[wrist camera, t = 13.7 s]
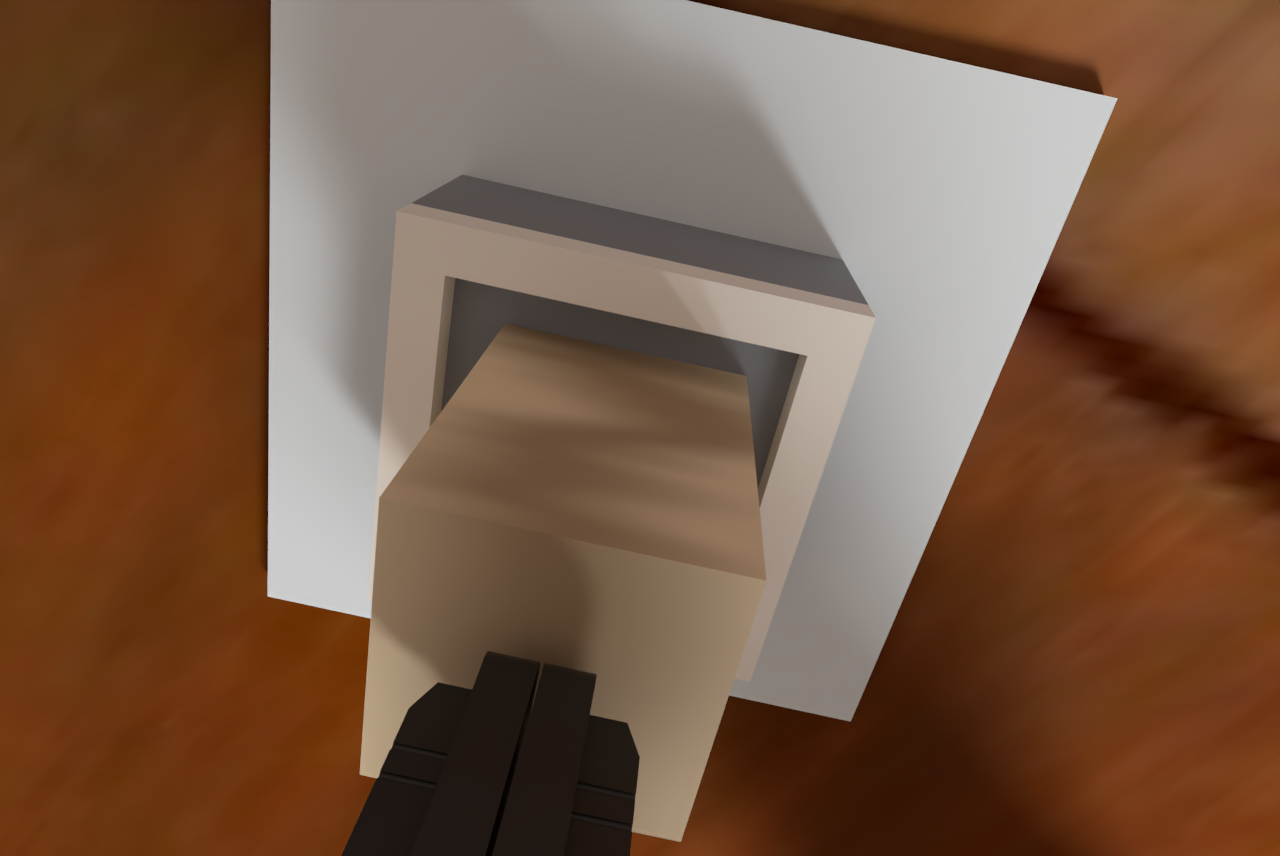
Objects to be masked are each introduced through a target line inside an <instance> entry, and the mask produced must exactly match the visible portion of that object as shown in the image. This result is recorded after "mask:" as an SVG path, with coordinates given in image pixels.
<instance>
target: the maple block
mask: <svg viewBox="0 0 1280 856" xmlns="http://www.w3.org/2000/svg"><path fill="white" fill-rule="evenodd" d="M766 581H767V580H766V569H765V559H764V549H763V539H762V528H761V518H760V508H759V497H758V487H757V477H756V467H755V456H754V446H753V436H752V425H751V415H750V405H749V394H748V384H747V376H745V375H740V374H735V373H731V372H726V371H722V370H717V369H713V368H708V367H703V366H699V365H694V364H690V363H685V362H680V361H676V360H671V359H667V358H662V357H657V356H653V355H648V354H644V353H639V352H634V351H630V350H625V349H621V348H616V347H611V346H607V345H602V344H598V343H593V342H588V341H584V340H579V339H575V338H570V337H565V336H561V335H556V334H552V333H547V332H543V331H538V330H533V329H529V328H524V327H520V326H515V325H510V324H506V323H505V324H504V326H503V327H502V328H501V330H500V331H499V333H498V334H497V335H496V337H495V338H494V340H493V341H492V342H491V344H490V345H489V346H488V348H487V349H486V351H485V352H484V353H483V355H482V356H481V358H480V359H479V360H478V362H477V363H476V364H475V366H474V367H473V369H472V370H471V371H470V373H469V374H468V376H467V377H466V378H465V380H464V381H463V382H462V384H461V385H460V387H459V388H458V389H457V391H456V392H455V394H454V395H453V396H452V398H451V399H450V400H449V402H448V403H447V405H446V406H445V407H444V409H443V410H442V412H441V413H440V414H439V416H438V417H437V418H436V420H435V421H434V423H433V424H432V425H431V427H430V428H429V430H428V431H427V432H426V434H425V435H424V436H423V438H422V439H421V441H420V442H419V443H418V445H417V446H416V448H415V449H414V450H413V452H412V453H411V454H410V456H409V457H408V459H407V460H406V461H405V463H404V464H403V466H402V467H401V468H400V470H399V471H398V472H397V474H396V475H395V477H394V478H393V479H392V481H391V482H390V484H389V485H388V486H387V488H386V489H385V490H384V492H383V493H382V495H381V496H380V497H379V509H378V523H377V537H376V551H375V565H374V579H373V594H372V608H371V622H370V636H369V650H368V664H367V678H366V693H365V707H364V721H363V735H362V749H361V763H360V775H364V776H369V777H373V778H378V777H379V774H380V770H381V768H382V766H383V764H384V761H385V759H386V757H387V755H388V753H389V751H390V749H392V746H393V742H394V740H395V737H396V735H397V733H398V731H399V729H400V726H401V724H402V722H403V720H404V718H405V715H406V713H407V711H408V709H409V707H411V706H412V705H413V704H414V703H415V702H416V701H417V700H418V699H420V698H421V697H422V696H423V695H424V694H425V693H426V692H427V691H429V690H430V689H431V688H432V687H433V686H434V685H435V684H436V683H438V682H439V683H444V684H449V685H453V686H458V687H463V688H467V689H473V686H474V684H475V681H476V678H477V676H478V673H479V670H480V668H481V665H482V662H483V660H484V657H485V655H486V653H487V651H491V652H496V653H500V654H505V655H510V656H514V657H519V658H523V659H528V660H533V661H537V662H540V669H539V674H538V680H537V685H536V690H535V695H534V700H535V696H536V692H537V689H538V685H539V681H540V678H541V674H542V670H543V667H544V664H545V663H548V664H552V665H557V666H562V667H566V668H571V669H575V670H580V671H585V672H589V673H594V674H597V677H596V683H595V689H594V694H593V699H592V705H591V710H590V715H594V716H598V717H603V718H607V719H612V720H617V721H621V722H626V723H628V726H629V729H630V731H631V734H632V737H633V740H634V743H635V745H636V748H637V751H638V754H639V757H640V760H639V770H638V779H637V789H636V796H635V808H634V818H633V826H632V831H631V832H636V833H640V834H645V835H650V836H655V837H660V838H664V839H669V840H674V841H679V842H681V840H682V837H683V834H684V830H685V827H686V824H687V821H688V818H689V815H690V812H691V809H692V806H693V803H694V800H695V797H696V794H697V791H698V788H699V785H700V782H701V779H702V776H703V773H704V770H705V767H706V764H707V760H708V757H709V754H710V751H711V748H712V745H713V742H714V739H715V736H716V733H717V730H718V727H719V724H720V721H721V718H722V715H723V712H724V709H725V706H726V703H727V700H728V697H729V694H730V691H731V687H732V684H733V681H734V678H735V675H736V672H737V669H738V666H739V663H740V660H741V657H742V654H743V651H744V648H745V645H746V642H747V639H748V636H749V633H750V630H751V627H752V624H753V621H754V617H755V614H756V611H757V608H758V605H759V602H760V599H761V596H762V593H763V590H764V587H765V584H766ZM534 700H533V703H534ZM532 707H533V705H532ZM531 711H532V710H531Z"/></svg>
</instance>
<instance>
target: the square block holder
mask: <svg viewBox="0 0 1280 856" xmlns="http://www.w3.org/2000/svg"><path fill="white" fill-rule="evenodd" d="M1117 99H1118V98H1113V97H1109V96H1104V95H1100V94H1096V93H1091V92H1087V91H1083V90H1078V89H1074V88H1069V87H1065V86H1061V85H1056V84H1052V83H1047V82H1043V81H1039V80H1034V79H1030V78H1025V77H1021V76H1017V75H1012V74H1008V73H1004V72H999V71H995V70H990V69H986V68H982V67H977V66H973V65H968V64H964V63H960V62H955V61H951V60H946V59H942V58H938V57H933V56H929V55H925V54H920V53H916V52H911V51H907V50H903V49H898V48H894V47H889V46H885V45H881V44H876V43H872V42H867V41H863V40H859V39H854V38H850V37H846V36H841V35H837V34H832V33H828V32H824V31H819V30H815V29H810V28H806V27H802V26H797V25H793V24H788V23H784V22H780V21H775V20H771V19H766V18H762V17H758V16H753V15H749V14H745V13H740V12H736V11H731V10H727V9H723V8H718V7H714V6H709V5H705V4H701V3H696V2H692V1H687V0H271V92H270V269H269V446H268V596H269V597H273V598H278V599H283V600H287V601H292V602H296V603H301V604H306V605H310V606H315V607H320V608H324V609H329V610H334V611H338V612H343V613H348V614H352V615H357V616H362V617H366V618H371V608H372V594H373V579H374V565H375V551H376V537H377V523H378V509H379V497H380V496H381V495H382V493H383V492H384V490H385V489H386V488H387V486H388V485H389V484H390V482H391V481H392V479H393V478H394V477H395V475H396V474H397V472H398V471H399V470H400V468H401V467H402V466H403V464H404V463H405V461H406V460H407V459H408V457H409V456H410V454H411V453H412V452H413V450H414V449H415V448H416V446H417V445H418V443H419V442H420V441H421V439H422V438H423V436H424V435H425V434H426V432H427V431H428V430H429V428H430V427H431V425H432V424H433V423H434V421H435V420H436V418H437V417H438V416H439V414H440V413H441V412H442V410H443V409H444V407H445V406H446V405H447V403H448V402H449V400H450V399H451V398H452V396H453V395H454V394H455V392H456V391H457V389H458V388H459V387H460V385H461V384H462V382H463V381H464V380H465V378H466V377H467V376H468V374H469V373H470V371H471V370H472V369H473V367H474V366H475V364H476V363H477V362H478V360H479V359H480V358H481V356H482V355H483V353H484V352H485V351H486V349H487V348H488V346H489V345H490V344H491V342H492V341H493V340H494V338H495V337H496V335H497V334H498V333H499V331H500V330H501V328H502V327H503V326H504V324H505V323H506V324H510V325H515V326H520V327H524V328H529V329H533V330H538V331H543V332H547V333H552V334H556V335H561V336H565V337H570V338H575V339H579V340H584V341H588V342H593V343H598V344H602V345H607V346H611V347H616V348H621V349H625V350H630V351H634V352H639V353H644V354H648V355H653V356H657V357H662V358H667V359H671V360H676V361H680V362H685V363H690V364H694V365H699V366H703V367H708V368H713V369H717V370H722V371H726V372H731V373H735V374H740V375H745V376H747V384H748V394H749V405H750V415H751V425H752V436H753V446H754V456H755V467H756V477H757V487H758V497H759V508H760V518H761V528H762V539H763V549H764V559H765V569H766V580H767V581H766V584H765V587H764V590H763V593H762V596H761V599H760V602H759V605H758V608H757V611H756V614H755V617H754V621H753V624H752V627H751V630H750V633H749V636H748V639H747V642H746V645H745V648H744V651H743V654H742V657H741V660H740V663H739V666H738V669H737V672H736V675H735V678H734V681H733V684H732V687H731V691H730V694H729V696H734V697H738V698H743V699H748V700H752V701H757V702H761V703H766V704H771V705H775V706H780V707H785V708H789V709H794V710H799V711H803V712H808V713H813V714H817V715H822V716H827V717H831V718H836V719H841V720H845V721H850V722H851V720H852V718H853V715H854V713H855V711H856V708H857V706H858V704H859V701H860V699H861V697H862V694H863V692H864V690H865V687H866V685H867V683H868V680H869V678H870V676H871V673H872V671H873V669H874V666H875V664H876V662H877V659H878V657H879V654H880V652H881V650H882V647H883V645H884V643H885V640H886V638H887V636H888V633H889V631H890V629H891V626H892V624H893V622H894V619H895V617H896V615H897V612H898V610H899V608H900V605H901V603H902V601H903V598H904V596H905V594H906V591H907V589H908V587H909V584H910V582H911V580H912V577H913V575H914V573H915V570H916V568H917V566H918V563H919V561H920V559H921V556H922V554H923V552H924V549H925V547H926V545H927V542H928V540H929V538H930V535H931V533H932V531H933V528H934V526H935V524H936V521H937V519H938V517H939V514H940V512H941V510H942V507H943V505H944V503H945V500H946V498H947V496H948V493H949V491H950V489H951V486H952V484H953V482H954V479H955V477H956V475H957V472H958V470H959V468H960V465H961V463H962V461H963V458H964V456H965V454H966V451H967V449H968V447H969V444H970V442H971V440H972V437H973V435H974V433H975V430H976V428H977V426H978V423H979V421H980V419H981V416H982V414H983V412H984V409H985V407H986V405H987V402H988V400H989V398H990V395H991V393H992V391H993V388H994V386H995V384H996V381H997V379H998V377H999V374H1000V372H1001V370H1002V367H1003V365H1004V363H1005V360H1006V358H1007V355H1008V353H1009V351H1010V348H1011V346H1012V344H1013V341H1014V339H1015V337H1016V334H1017V332H1018V330H1019V327H1020V325H1021V323H1022V320H1023V318H1024V316H1025V313H1026V311H1027V309H1028V306H1029V304H1030V302H1031V299H1032V297H1033V295H1034V292H1035V290H1036V288H1037V285H1038V283H1039V281H1040V278H1041V276H1042V274H1043V271H1044V269H1045V267H1046V264H1047V262H1048V260H1049V257H1050V255H1051V253H1052V250H1053V248H1054V246H1055V243H1056V241H1057V239H1058V236H1059V234H1060V232H1061V229H1062V227H1063V225H1064V222H1065V220H1066V218H1067V215H1068V213H1069V211H1070V208H1071V206H1072V204H1073V201H1074V199H1075V197H1076V194H1077V192H1078V190H1079V187H1080V185H1081V183H1082V180H1083V178H1084V176H1085V173H1086V171H1087V169H1088V166H1089V164H1090V162H1091V159H1092V157H1093V155H1094V152H1095V150H1096V148H1097V145H1098V143H1099V141H1100V138H1101V136H1102V134H1103V131H1104V129H1105V127H1106V124H1107V122H1108V120H1109V117H1110V115H1111V113H1112V110H1113V108H1114V106H1115V103H1116V101H1117Z"/></svg>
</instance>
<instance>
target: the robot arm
mask: <svg viewBox="0 0 1280 856" xmlns="http://www.w3.org/2000/svg"><path fill="white" fill-rule="evenodd" d="M539 669H540V662H537V661H533V660H528V659H523V658H519V657H514V656H510V655H505V654H500V653H496V652H491V651H487V653H486V655H485V657H484V660H483V662H482V665H481V668H480V670H479V673H478V676H477V678H476V681H475V684H474V686H473V689H467V688H463V687H458V686H453V685H449V684H444V683H439V682H438V683H436V684H435V685H434V686H433V687H432V688H431V689H430V690H429V691H427V692H426V693H425V694H424V695H423V696H422V697H421V698H420V699H418V700H417V701H416V702H415V703H414V704H413V705H412V706H411V707H409V709H408V711H407V713H406V715H405V718H404V720H403V722H402V724H401V726H400V729H399V731H398V733H397V735H396V737H395V740H394V742H393V746H392V749H390V751H389V753H388V755H387V757H386V759H385V761H384V764H383V766H382V768H381V770H380V774H379V777H378V778H377V779H376V781H375V783H374V786H373V788H372V790H371V792H370V794H369V797H368V799H367V801H366V803H365V805H364V807H363V810H362V812H361V814H360V816H359V818H358V821H357V823H356V825H355V827H354V829H353V832H352V834H351V836H350V838H349V840H348V843H347V845H346V847H345V849H344V851H343V853H342V856H630V847H631V837H632V832H631V831H632V826H633V818H634V808H635V796H636V789H637V779H638V770H639V760H640V757H639V754H638V751H637V748H636V745H635V743H634V740H633V737H632V734H631V731H630V729H629V726H628V723H626V722H621V721H617V720H612V719H607V718H603V717H598V716H594V715H590V710H591V705H592V699H593V694H594V689H595V683H596V677H597V674H594V673H589V672H585V671H580V670H575V669H571V668H566V667H562V666H557V665H552V664H548V663H545V664H544V667H543V670H542V674H541V678H540V681H539V685H538V689H537V692H536V696H535V700H534V695H535V690H536V685H537V680H538V674H539ZM533 700H534V703H533ZM532 705H533V707H532ZM531 710H532V711H531Z"/></svg>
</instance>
